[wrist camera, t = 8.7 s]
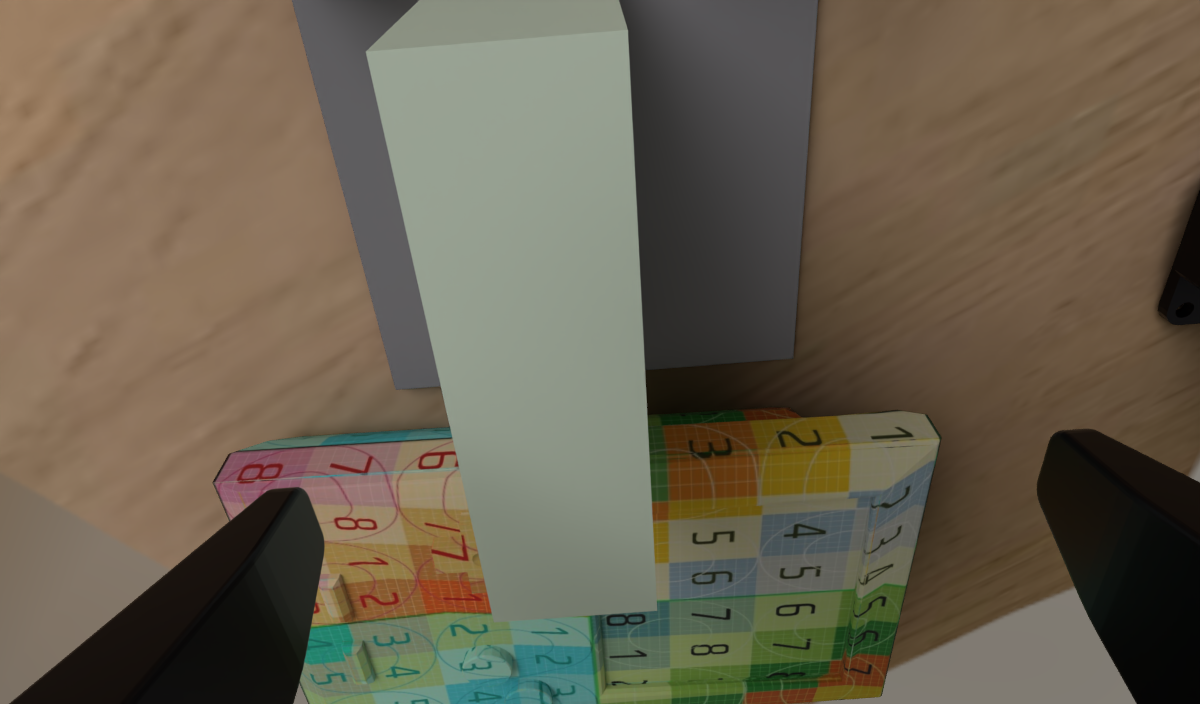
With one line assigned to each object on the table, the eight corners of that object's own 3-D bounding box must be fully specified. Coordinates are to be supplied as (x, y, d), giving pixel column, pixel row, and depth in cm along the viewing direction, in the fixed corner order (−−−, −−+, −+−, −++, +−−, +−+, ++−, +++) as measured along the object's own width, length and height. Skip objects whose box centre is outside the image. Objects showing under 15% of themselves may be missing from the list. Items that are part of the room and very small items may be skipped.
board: (601, -57, 17) (628, 29, 9) (626, 329, 23) (656, 610, 14) (466, -46, 17) (365, 51, 9) (523, 336, 23) (493, 622, 14)
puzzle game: (198, 507, 21) (955, 460, 21) (258, 401, 25) (894, 361, 24) (312, 755, 27) (890, 720, 27) (345, 639, 31) (850, 608, 31)
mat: (820, -104, 17) (825, -104, 17) (790, 351, 24) (792, 358, 23) (282, -57, 17) (277, -55, 17) (398, 382, 24) (395, 389, 24)
